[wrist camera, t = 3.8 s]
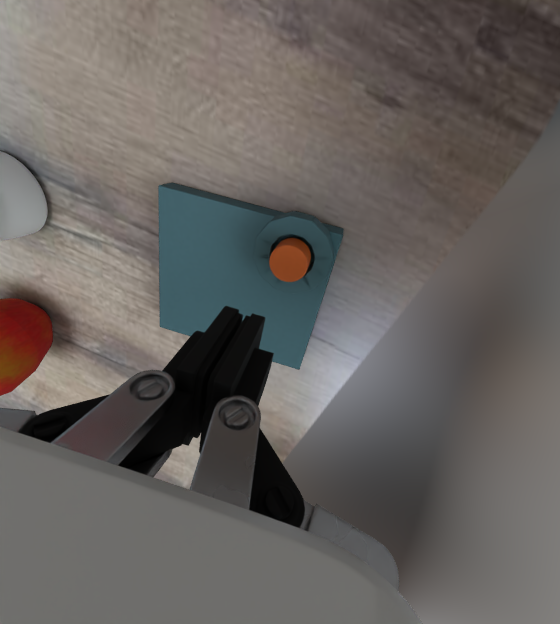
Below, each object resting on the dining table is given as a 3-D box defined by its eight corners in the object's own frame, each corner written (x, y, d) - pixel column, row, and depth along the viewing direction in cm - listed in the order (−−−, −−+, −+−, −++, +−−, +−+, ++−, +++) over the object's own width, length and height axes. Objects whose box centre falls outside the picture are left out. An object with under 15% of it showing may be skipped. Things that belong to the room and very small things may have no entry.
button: (315, 243, 20) (312, 251, 19) (305, 277, 21) (302, 287, 20) (278, 233, 20) (272, 240, 19) (271, 267, 22) (265, 276, 20)
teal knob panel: (347, 218, 22) (346, 230, 19) (302, 357, 29) (296, 381, 26) (171, 171, 23) (144, 176, 20) (169, 317, 30) (149, 336, 27)
